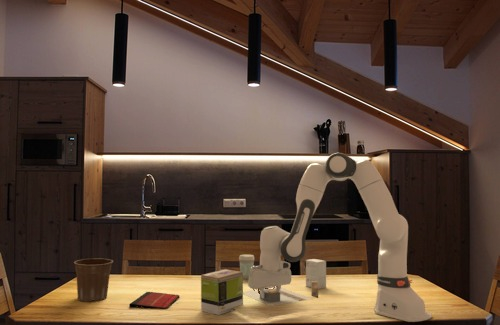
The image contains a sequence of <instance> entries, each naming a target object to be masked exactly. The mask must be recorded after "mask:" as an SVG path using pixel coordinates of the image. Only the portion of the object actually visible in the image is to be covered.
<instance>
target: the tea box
mask: <svg viewBox="0 0 500 325" xmlns="http://www.w3.org/2000/svg"><path fill="white" fill-rule="evenodd" d="M243 281H244V280H243V272H240V270H239V271H238V270H232V269H225V268H224V269H222V270H221V269H220V270H216V271H212V272H208V273H205V274H201V275H200V304H201V305H200V306H201V307H200V310H201V311H202V312H204V313H207V314H212V315H215V316H221V315H223V314H227V313H229V312H231V311H232V312H233V311H235V310H236V309H235V308H236V307H239V306H241V305H242V306H243V304H244V294H243V291H244V284H243V283H244V282H243Z"/></svg>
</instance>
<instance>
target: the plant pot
mask: <svg viewBox="0 0 500 325" xmlns="http://www.w3.org/2000/svg"><path fill="white" fill-rule="evenodd" d="M113 263H114V260H113V259H109V258H83V259H78V260H74V262H73V264H74V265H75V266H74V268H75V273H76V274H75V275H76V287H77V288H76V290H77V300H78V301H80V302H91V301H94V302H99V301H103V300H106V299H107V297H108V289H109V283H110V274H111V271H112V265H113Z"/></svg>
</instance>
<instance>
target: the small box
mask: <svg viewBox="0 0 500 325" xmlns="http://www.w3.org/2000/svg"><path fill="white" fill-rule="evenodd" d="M312 281H318V290H319V289H324V288H327V260H322V259H316V258H312V259H310V258H309V259H305V286H306V287H309V288H312Z"/></svg>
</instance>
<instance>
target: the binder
mask: <svg viewBox="0 0 500 325" xmlns="http://www.w3.org/2000/svg"><path fill="white" fill-rule="evenodd" d="M178 299H180V295H179V294H172V293H163V292H154V291H145V293H143V294H142V295H140V296H139V297H138V298H136V299H134V300H133V301H132V302H130V303H129V306H128V307H129V308H130V309H131V308H133V307H135V308H136V307H137V308H142V309H147V310H151V309H152V310H167V309H169V308H170V307H171V305H172V304H174V302H175V301H176V300H178Z"/></svg>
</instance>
